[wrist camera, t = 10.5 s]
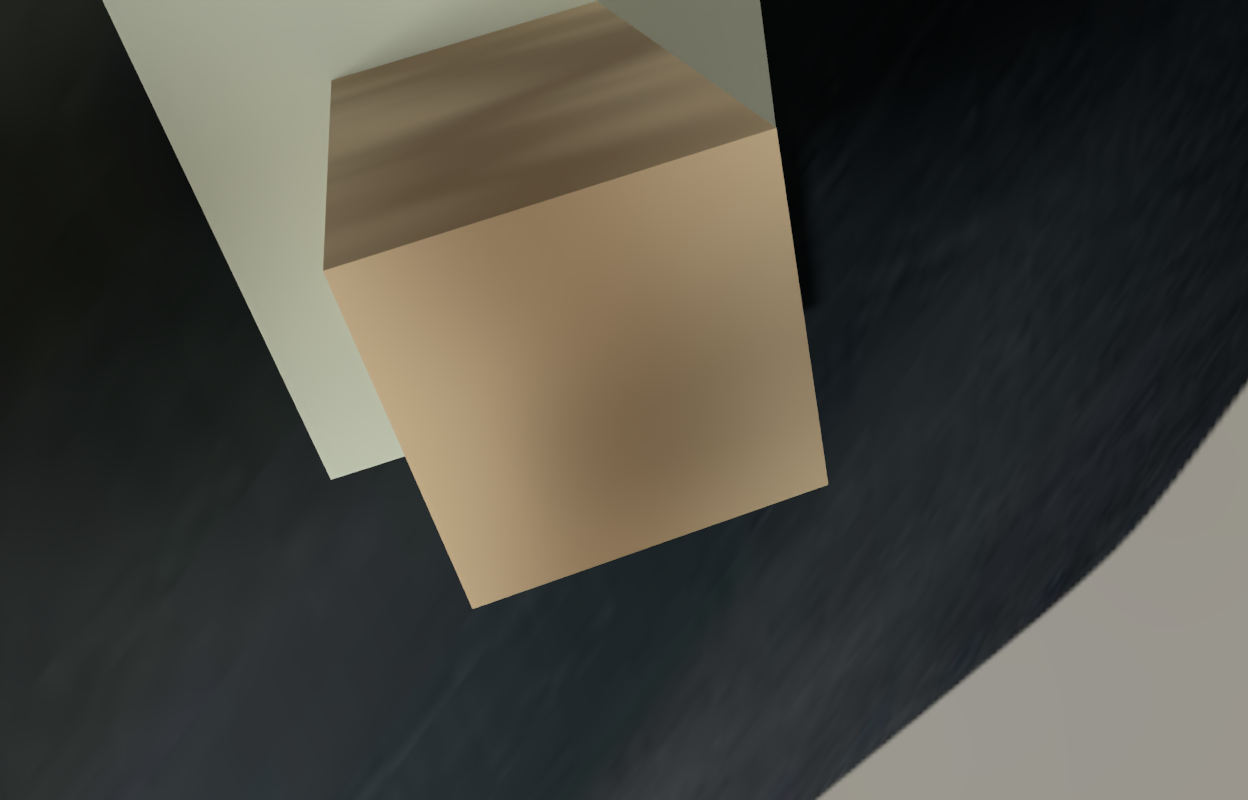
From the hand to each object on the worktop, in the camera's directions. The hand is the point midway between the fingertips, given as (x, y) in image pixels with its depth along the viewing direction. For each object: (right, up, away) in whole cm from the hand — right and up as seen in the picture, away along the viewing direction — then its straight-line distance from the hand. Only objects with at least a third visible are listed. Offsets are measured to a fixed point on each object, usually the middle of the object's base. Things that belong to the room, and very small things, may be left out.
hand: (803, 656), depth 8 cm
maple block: (-4, +6, +9) cm, 11 cm away
